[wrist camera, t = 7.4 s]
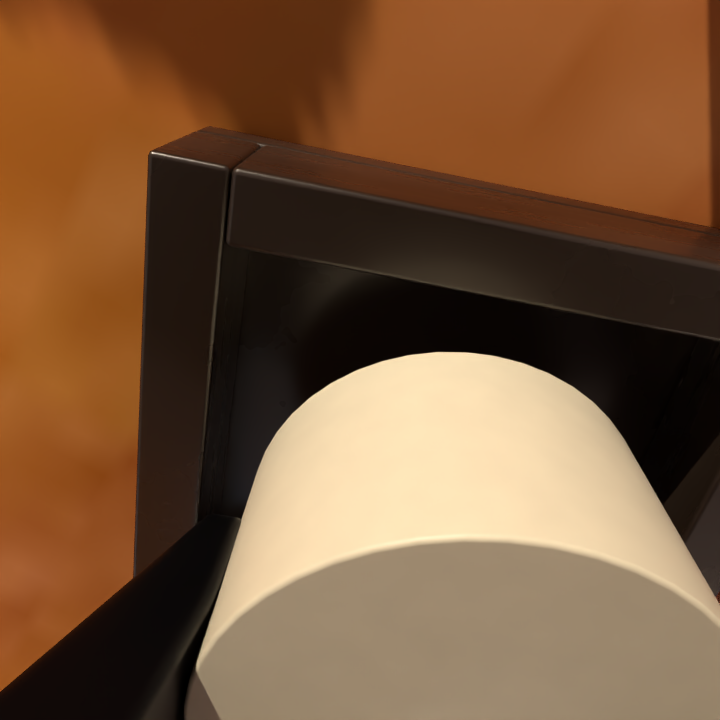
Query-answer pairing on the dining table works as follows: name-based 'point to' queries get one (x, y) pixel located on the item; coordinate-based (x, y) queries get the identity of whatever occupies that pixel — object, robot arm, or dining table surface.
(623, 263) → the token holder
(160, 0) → the dining table surface
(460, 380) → the cylinder
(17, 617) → the dining table surface
